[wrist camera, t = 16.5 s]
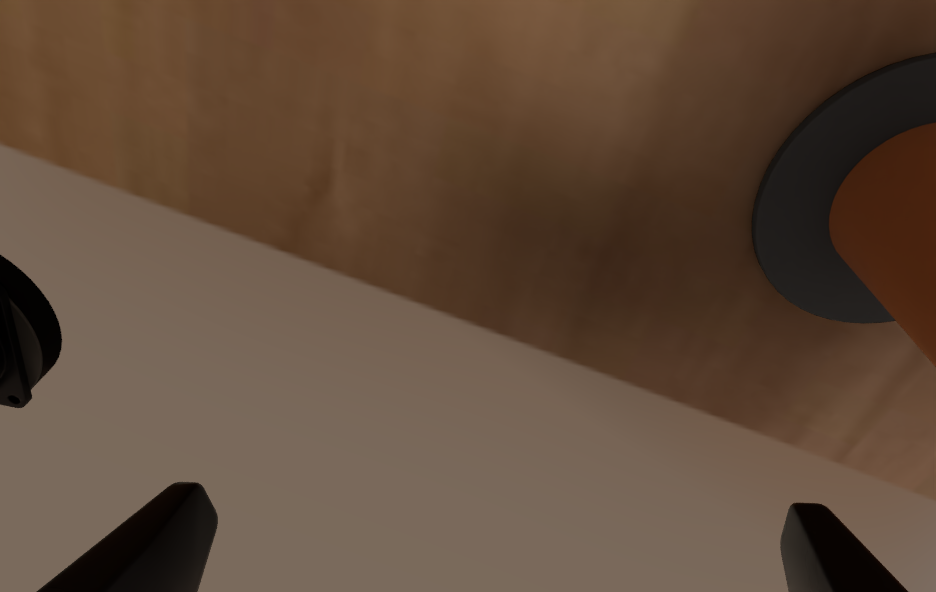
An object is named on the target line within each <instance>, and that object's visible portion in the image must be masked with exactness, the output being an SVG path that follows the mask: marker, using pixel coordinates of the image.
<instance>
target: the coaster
mask: <svg viewBox="0 0 936 592" xmlns="http://www.w3.org/2000/svg"><path fill="white" fill-rule="evenodd" d="M931 123H936V53H933V54H928V55H924V56H919V57H914V58H910V59H907V60H904V61H901V62H898V63H895V64H892V65H889V66H886V67H884V68H882V69H880V70H877V71H875V72H873V73H871V74H868V75H866V76H864V77H863V78H861V79H859V80H857V81H856V82H854V83H852V84H850V85H848V86H847V87H845V88H843V89H842V90H841V91H839V92H838V93H836V94H835V95H833V96H832V97H831V98H829V99H828V100H826V101H825V102H824V103H823V104H821V105H820V106H819V107H818V108H817V109H816V110H814V111H813V112H812V113H811V114H810V115H809V116H808V117H806V119H805V120H804V121H803V122H802V123H801V124H800V125H799V126H798V127H797V128H796V129H795V130H794V131H793V132H792V133H791V135H790V136H789V137H788V138H787V140H786V141H785V142H784V144H783V145H782V146H781V148H780V149H779V150H778V152H777V153H776V155H775V157H774V158H773V160H772V162H771V163H770V165H769V167H768V169H767V171H766V173H765V175H764V177H763V180H762V182H761V184H760V187H759V190H758V193H757V197H756V200H755V204H754V210H753V217H752V238H753V244H754V250H755V253H756V256H757V259H758V262H759V264H760V266H761V268H762V270H763V271H764V273H765V275H766V277H767V278H768V280H769V281H770V282H771V284H772V285H773V286H774V287H775V289H776V290H777V291H778V292H779V293H780V294H781V295H782V296H783V297H785V298H786V299H787V300H788V301H790V302H791V303H793V304H794V305H796V306H797V307H799V308H800V309H803V310H805V311H807V312H809V313H812V314H814V315H817V316H820V317H823V318H827V319H830V320H836V321H842V322H850V323H882V322H889V321H896V320H895V319H894V318H893V317H892V316H891V314H890V313H889V312H888V311H887V310H886V309H885V308H884V306H883V305H882V304H881V303H880V302H879V301H878V299H877V298H876V297H875V296H874V295H873V294H872V292H871V291H870V290H869V289H868V288H867V287H866V285H865V284H864V283H863V282H862V281H861V280H860V279H859V277H858V276H857V275H856V274H855V273H854V272H853V270H852V269H851V268H850V267H849V266H848V265H847V263H846V262H845V261H844V260H843V259H842V258H841V256H840V255H839V254H838V253H837V251H836V249H835V247H834V246H833V244H832V240H831V237H830V232H829V215H830V211H831V206H832V203H833V200H834V197H835V195H836V193H837V191H838V189H839V187H840V186H841V184H842V182H843V181H844V179H845V178H846V176H847V175H848V174H849V173H850V172H851V170H852V169H853V168H854V167H855V166H856V165H857V164H858V163H859V162H860V161H861V160H862V159H863V158H864V157H865V156H866V155H867V154H869V153H870V152H871V151H872V150H874V149H875V148H876V147H878V146H879V145H881V144H882V143H884V142H885V141H887V140H889V139H891V138H893V137H894V136H896V135H898V134H901V133H903V132H905V131H907V130H910V129H913V128H916V127H919V126H922V125H926V124H931Z"/></svg>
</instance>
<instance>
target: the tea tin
mask: <svg viewBox="0 0 936 592" xmlns="http://www.w3.org/2000/svg"><path fill="white" fill-rule="evenodd" d="M829 232H830V237H831V240H832V244H833V246H834V247H835V249H836V251H837V253H838V254H839V255H840V256H841V258H842V259H843V260H844V261H845V262H846V263H847V265H848V266H849V267H850V268H851V269H852V270H853V272H854V273H855V274H856V275H857V276H858V277H859V279H860V280H861V281H862V282H863V283H864V284H865V285H866V287H867V288H868V289H869V290H870V291H871V292H872V294H873V295H874V296H875V297H876V298H877V299H878V301H879V302H880V303H881V304H882V305H883V306H884V308H885V309H886V310H887V311H888V312H889V313H890V314H891V316H892V317H893V318H894V319H895V320H896V321H897V323H898V324H899V325H900V326H901V327H902V328H903V330H904V331H905V332H906V333H907V334H908V335H909V336H910V338H911V339H912V340H913V341H914V342H915V343H916V345H917V346H918V347H919V348H920V349H921V350H922V352H923V353H924V354H925V355H926V356H927V357H928V359H929V360H930V361H931V362H932V363H933V364H934V365H935V367H936V123H931V124H926V125H922V126H919V127H916V128H913V129H910V130H907V131H905V132H903V133H901V134H898V135H896V136H894V137H893V138H891V139H889V140H887V141H885V142H884V143H882V144H881V145H879V146H878V147H876V148H875V149H874V150H872V151H871V152H870V153H869V154H867V155H866V156H865V157H864V158H863V159H862V160H861V161H860V162H859V163H858V164H857V165H856V166H855V167H854V168H853V169H852V170H851V172H850V173H849V174H848V175H847V176H846V178H845V179H844V181H843V182H842V184H841V186H840V187H839V189H838V191H837V193H836V195H835V197H834V200H833V203H832V206H831V211H830V215H829Z"/></svg>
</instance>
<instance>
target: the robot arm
mask: <svg viewBox="0 0 936 592" xmlns="http://www.w3.org/2000/svg"><path fill="white" fill-rule="evenodd" d="M31 399H32V394H31V390H30V386H29V381H28V377H27V373H26V369H25V364H24V360H23V356H22V352H21V347H20V343H19V339H18V335H17V331H16V326H15V322H14V318H13V314H12V309H11V305H10V301H9V297H8V293H7V291H6V289H5V288H4V287H3V286H2V285H0V404H1V405H6V406H10V407H15V408H22V407H24V406H25V405H26V404H27V403H28V402H29V401H30V400H31ZM217 524H218V517H217V513H216V510H215V508H214V507H213V505H212V503H211V501H210V499H209V497H208V495H207V493H206V491H205V490H204V488H203V486H202V485H201V484H199V483H195V482H194V483H193V482H177V483H174V484H172V485H171V486H169V487H167V488H166V489H165V490H164V491H163V492H161V493H160V494H159V495H157V496H156V497H155V498H154V499H152V500H151V501H150V502H149V503H147V504H146V505H145V506H144V507H143V508H141V509H140V510H139V511H137V512H136V513H135V514H134V515H132V516H131V517H130V518H128V519H127V520H126V521H125V522H123V523H122V524H121V525H120V526H118V527H117V528H116V529H115V530H114V531H112V532H111V533H110V534H108V535H107V536H106V537H105V538H103V539H102V540H101V541H100V542H98V543H97V544H96V545H95V546H93V547H92V548H91V549H90V550H89V551H87V552H86V553H85V554H83V555H82V556H81V557H80V558H78V559H77V560H76V561H75V562H73V563H72V564H71V565H70V566H68V567H67V568H66V569H64V570H63V571H62V572H61V573H60V574H58V575H57V576H56V577H54V578H53V579H52V580H51V581H50V582H48V583H47V584H46V585H44V586H43V587H42V588H41V589H39V590H38V591H37V592H197V591H198V588H199V585H200V582H201V578H202V575H203V572H204V568H205V565H206V562H207V559H208V556H209V552H210V549H211V545H212V543H213V539H214V536H215V533H216V529H217ZM781 555H782V560H783V565H784V570H785V575H786V580H787V585H788V590H789V592H908V591H907V590H906V589H905V588H904V587H903V586H902V585H901V584H900V583H899V581H898V580H896V578H895V577H894V576H893V575H892V574H891V573H890V572H889V571H888V570H887V569H886V568H885V567H884V566H883V565H882V564H881V563H880V562H879V561H878V560H877V559H876V558H875V557H874V555H872V553H871V552H870V551H869V550H868V549H867V548H866V547H865V546H864V545H863V544H862V543H861V542H860V541H859V540H858V539H857V538H856V537H855V536H854V535H853V534H852V532H851V531H850V530H849V529H848V528H847V527H846V526H845V525H844V524H843V523H842V522H841V521H840V520H839V519H838V518H837V517H836V516H835V515H834V514H833V513H832V512H831V511H830V510H829V509H828V508H827V507H826V506H824V505H822V504H817V503H793V504H792V505H791V506H790V508H789V510H788V514H787V517H786V521H785V525H784V529H783V532H782V536H781Z"/></svg>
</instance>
